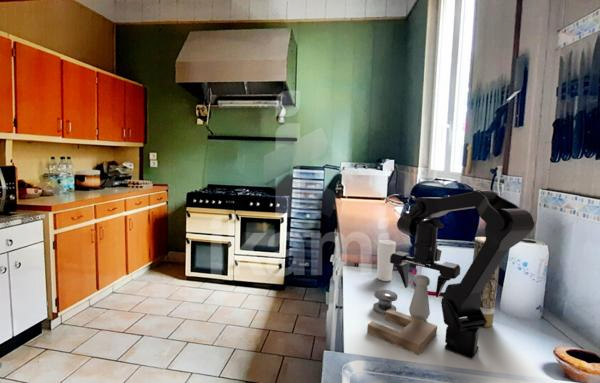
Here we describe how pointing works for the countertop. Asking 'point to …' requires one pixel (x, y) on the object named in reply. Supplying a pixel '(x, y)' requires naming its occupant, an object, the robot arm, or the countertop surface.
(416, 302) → the salt shaker
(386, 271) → the drinking glass
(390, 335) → the notched board
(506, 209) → the robot arm
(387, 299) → the spool
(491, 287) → the wooden log
